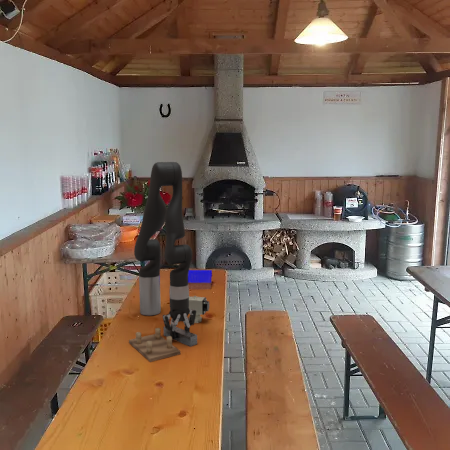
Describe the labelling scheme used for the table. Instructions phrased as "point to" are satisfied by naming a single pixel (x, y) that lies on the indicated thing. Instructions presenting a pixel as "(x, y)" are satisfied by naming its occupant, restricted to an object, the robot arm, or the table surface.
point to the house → (199, 279)
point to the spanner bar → (183, 336)
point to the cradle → (154, 346)
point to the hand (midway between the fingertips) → (180, 337)
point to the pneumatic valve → (198, 307)
